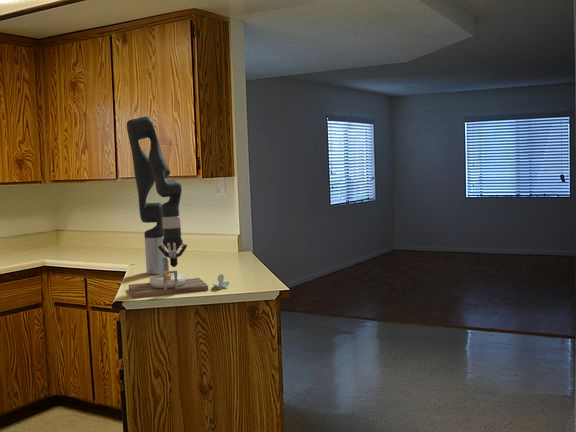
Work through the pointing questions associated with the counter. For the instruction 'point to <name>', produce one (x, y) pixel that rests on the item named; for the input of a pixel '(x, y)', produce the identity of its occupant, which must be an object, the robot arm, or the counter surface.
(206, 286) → the stand
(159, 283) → the cam foot
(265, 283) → the counter surface
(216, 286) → the pacifier
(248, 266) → the counter surface
